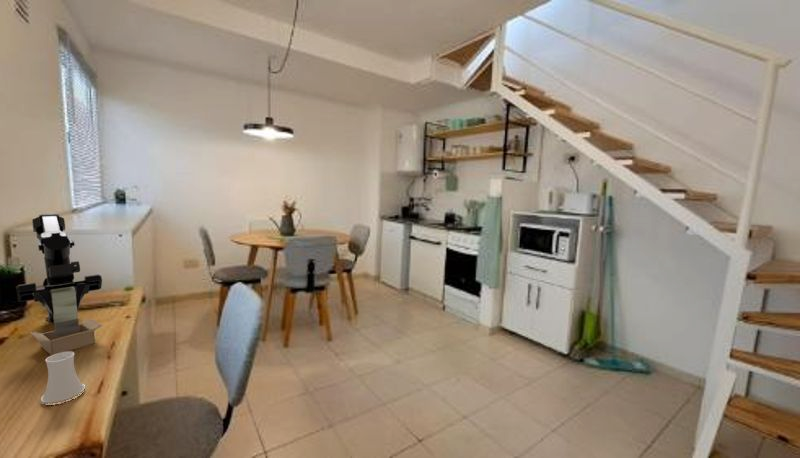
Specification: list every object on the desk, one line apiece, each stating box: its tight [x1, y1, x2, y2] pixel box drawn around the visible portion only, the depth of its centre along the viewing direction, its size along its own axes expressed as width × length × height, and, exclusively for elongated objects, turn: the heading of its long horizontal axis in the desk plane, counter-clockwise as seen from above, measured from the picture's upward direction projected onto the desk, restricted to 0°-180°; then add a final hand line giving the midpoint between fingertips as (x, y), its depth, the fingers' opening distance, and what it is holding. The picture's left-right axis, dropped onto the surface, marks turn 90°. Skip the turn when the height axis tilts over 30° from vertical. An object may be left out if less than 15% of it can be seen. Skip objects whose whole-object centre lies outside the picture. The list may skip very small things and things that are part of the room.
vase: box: [40, 351, 86, 405], centre depth 81 cm, size 8×8×10 cm
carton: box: [29, 317, 102, 356], centre depth 105 cm, size 12×14×5 cm
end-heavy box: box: [51, 287, 80, 336], centre depth 105 cm, size 5×5×13 cm
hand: (65, 311), depth 104 cm, fingers closed on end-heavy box, 5 cm apart
